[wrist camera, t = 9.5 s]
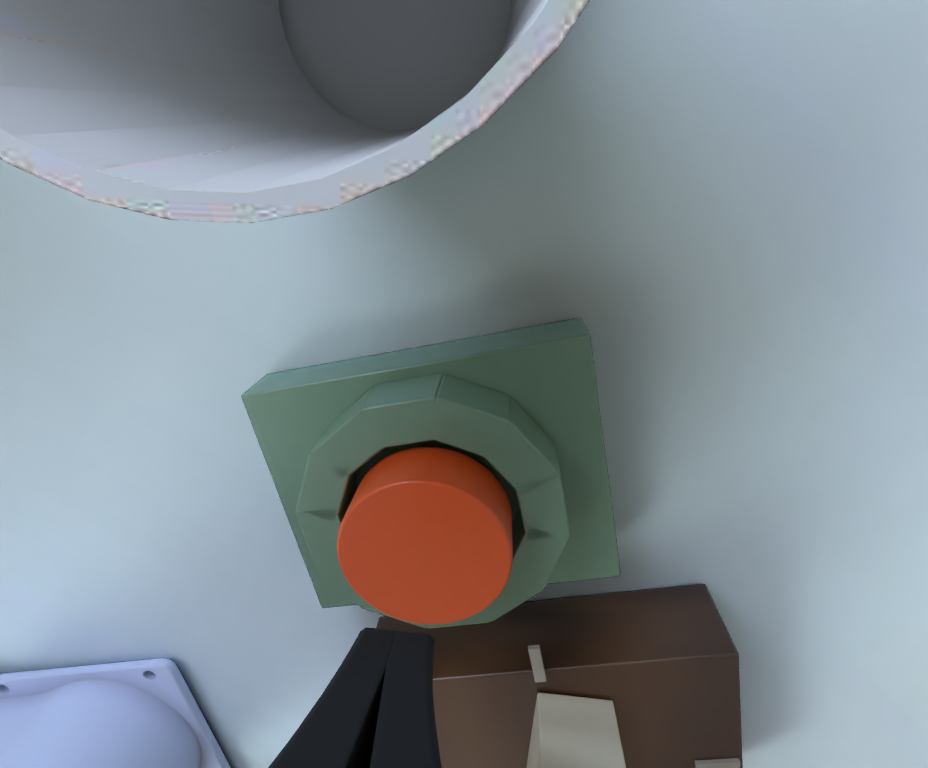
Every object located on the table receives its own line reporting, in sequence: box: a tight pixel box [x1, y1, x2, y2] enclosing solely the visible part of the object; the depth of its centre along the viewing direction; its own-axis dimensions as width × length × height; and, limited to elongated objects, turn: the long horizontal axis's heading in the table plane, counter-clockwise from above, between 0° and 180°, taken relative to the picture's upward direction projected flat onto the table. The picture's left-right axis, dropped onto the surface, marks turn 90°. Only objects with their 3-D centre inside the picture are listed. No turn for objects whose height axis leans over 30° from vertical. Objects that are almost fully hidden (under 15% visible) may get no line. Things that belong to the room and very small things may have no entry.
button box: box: [241, 318, 621, 629], centre depth 16 cm, size 10×8×4 cm
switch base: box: [376, 584, 743, 768], centre depth 20 cm, size 12×12×3 cm
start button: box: [337, 447, 513, 625], centre depth 14 cm, size 4×4×2 cm
